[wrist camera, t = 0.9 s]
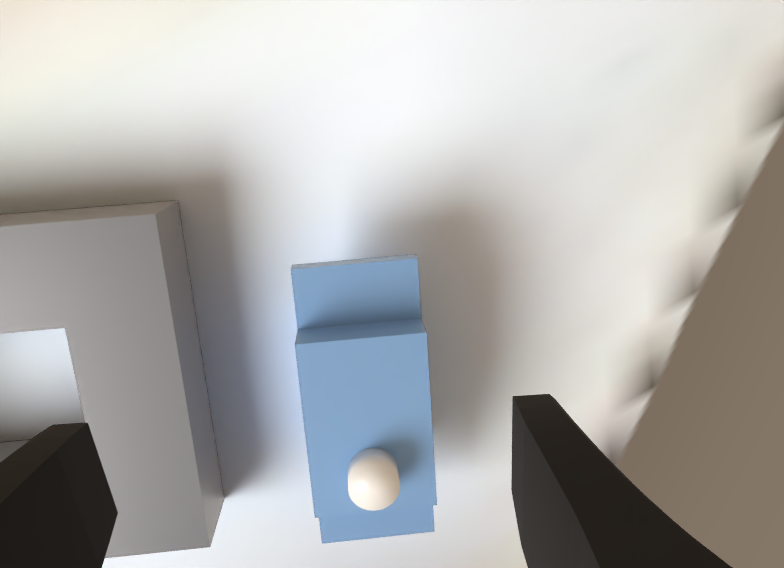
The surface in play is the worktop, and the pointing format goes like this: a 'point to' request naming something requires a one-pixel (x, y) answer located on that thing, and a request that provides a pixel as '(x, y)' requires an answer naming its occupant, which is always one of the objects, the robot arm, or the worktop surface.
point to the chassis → (124, 358)
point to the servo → (365, 396)
